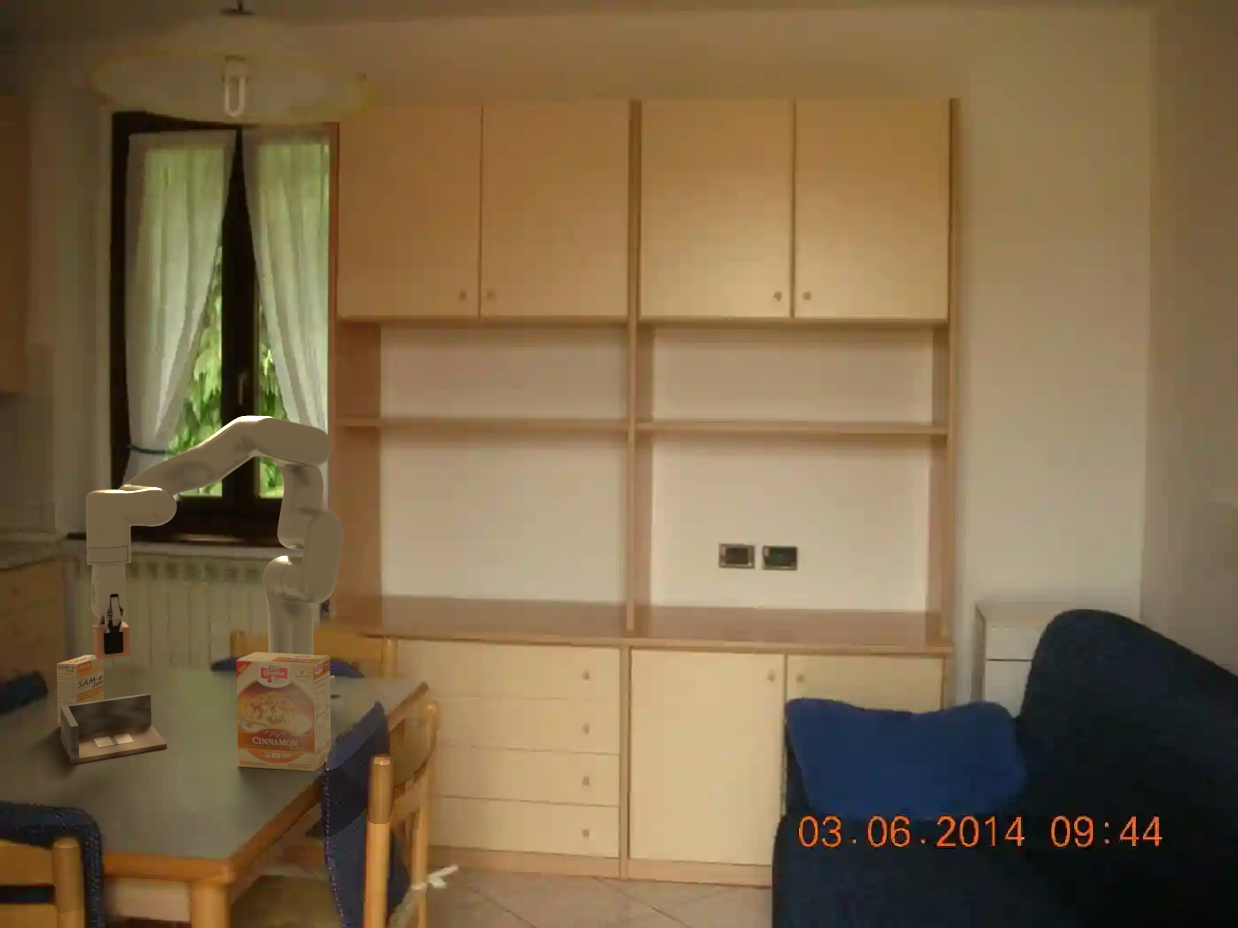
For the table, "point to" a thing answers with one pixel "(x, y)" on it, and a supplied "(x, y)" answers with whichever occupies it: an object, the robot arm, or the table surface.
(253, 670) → the coffeecake box
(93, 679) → the supplement box
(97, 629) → the cube
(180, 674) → the table surface
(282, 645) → the robot arm
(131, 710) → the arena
